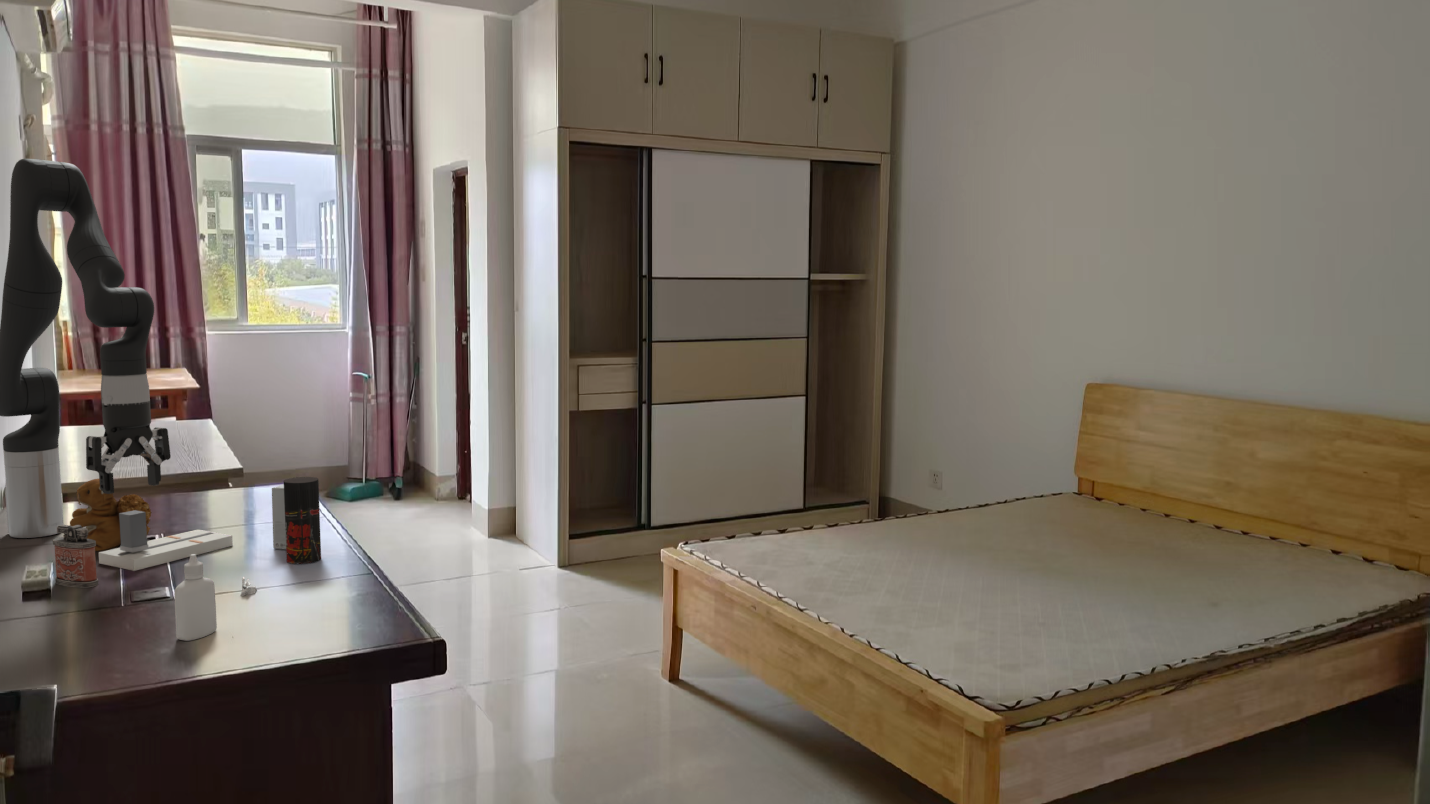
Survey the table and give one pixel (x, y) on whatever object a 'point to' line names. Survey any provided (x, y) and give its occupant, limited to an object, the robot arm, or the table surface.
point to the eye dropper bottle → (195, 603)
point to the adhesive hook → (247, 589)
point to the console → (166, 549)
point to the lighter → (75, 557)
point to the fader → (133, 531)
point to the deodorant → (302, 520)
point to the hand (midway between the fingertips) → (131, 489)
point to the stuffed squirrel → (105, 514)
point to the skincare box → (278, 517)
